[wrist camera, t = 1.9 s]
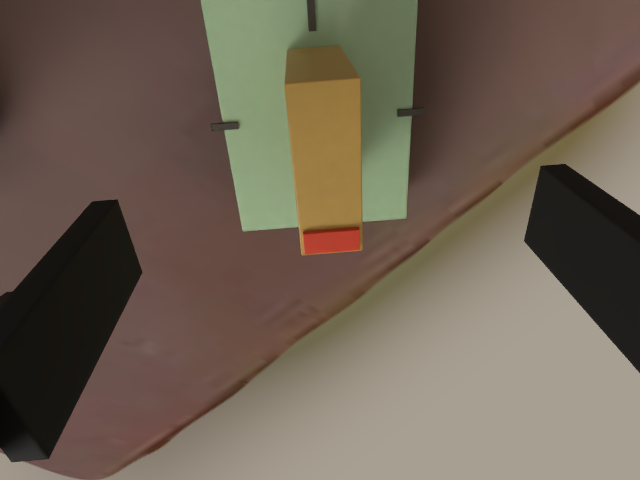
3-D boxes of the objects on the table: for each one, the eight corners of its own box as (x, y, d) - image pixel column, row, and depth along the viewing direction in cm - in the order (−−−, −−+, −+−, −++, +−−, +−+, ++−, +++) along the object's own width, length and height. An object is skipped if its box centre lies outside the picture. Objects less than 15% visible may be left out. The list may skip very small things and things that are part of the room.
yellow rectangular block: (286, 49, 21) (283, 85, 14) (340, 45, 21) (362, 78, 14) (299, 182, 24) (301, 259, 18) (344, 178, 24) (363, 254, 18)
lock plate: (196, -19, 22) (182, -17, 19) (417, -35, 22) (434, -35, 19) (238, 209, 29) (232, 234, 26) (405, 196, 29) (417, 219, 26)
